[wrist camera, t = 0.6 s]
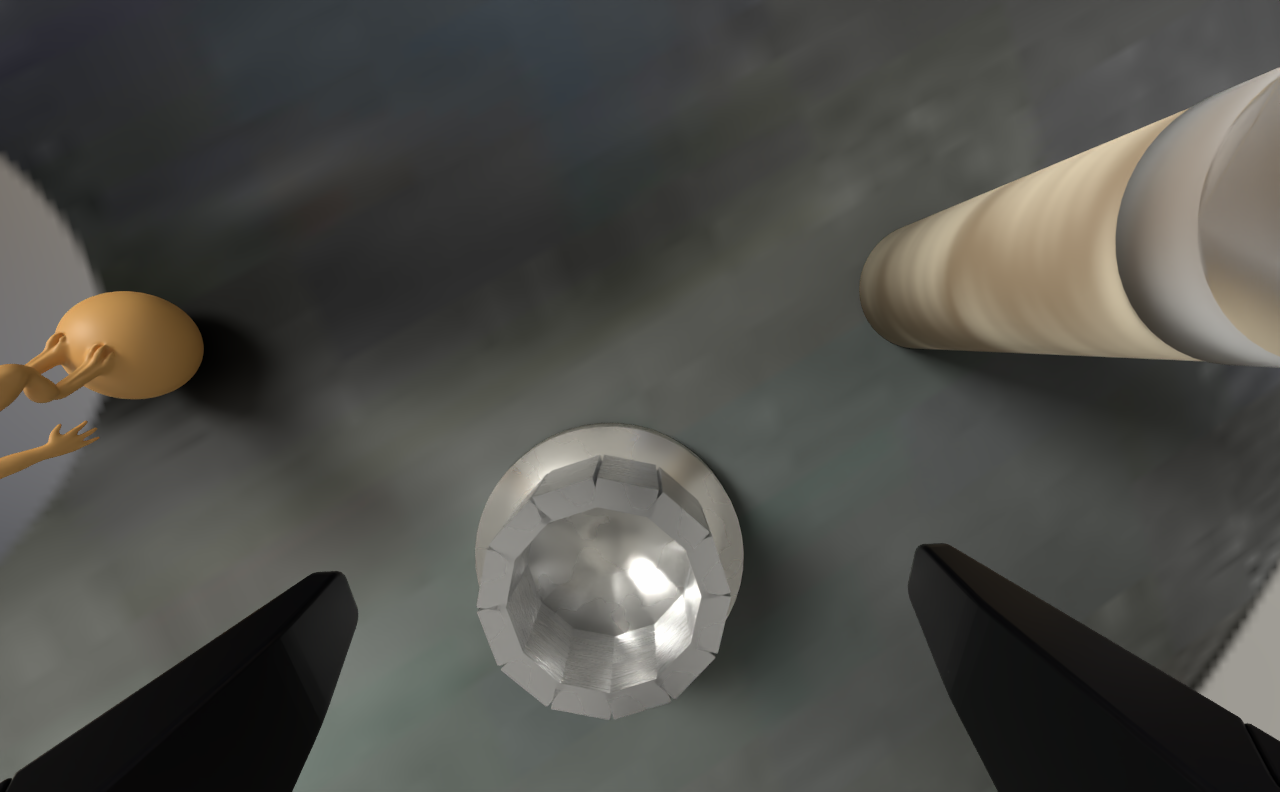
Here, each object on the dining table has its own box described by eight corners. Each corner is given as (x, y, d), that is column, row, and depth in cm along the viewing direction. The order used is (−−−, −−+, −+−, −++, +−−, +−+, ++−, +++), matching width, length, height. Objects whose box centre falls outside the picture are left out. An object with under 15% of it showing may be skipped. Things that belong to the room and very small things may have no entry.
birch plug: (997, 326, 21) (1538, 311, 9) (877, 366, 22) (1229, 410, 9) (966, 204, 21) (1494, -10, 8) (843, 245, 21) (1164, 102, 8)
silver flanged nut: (770, 625, 23) (802, 696, 18) (533, 700, 23) (508, 786, 19) (693, 387, 22) (707, 400, 17) (444, 469, 22) (395, 504, 18)
